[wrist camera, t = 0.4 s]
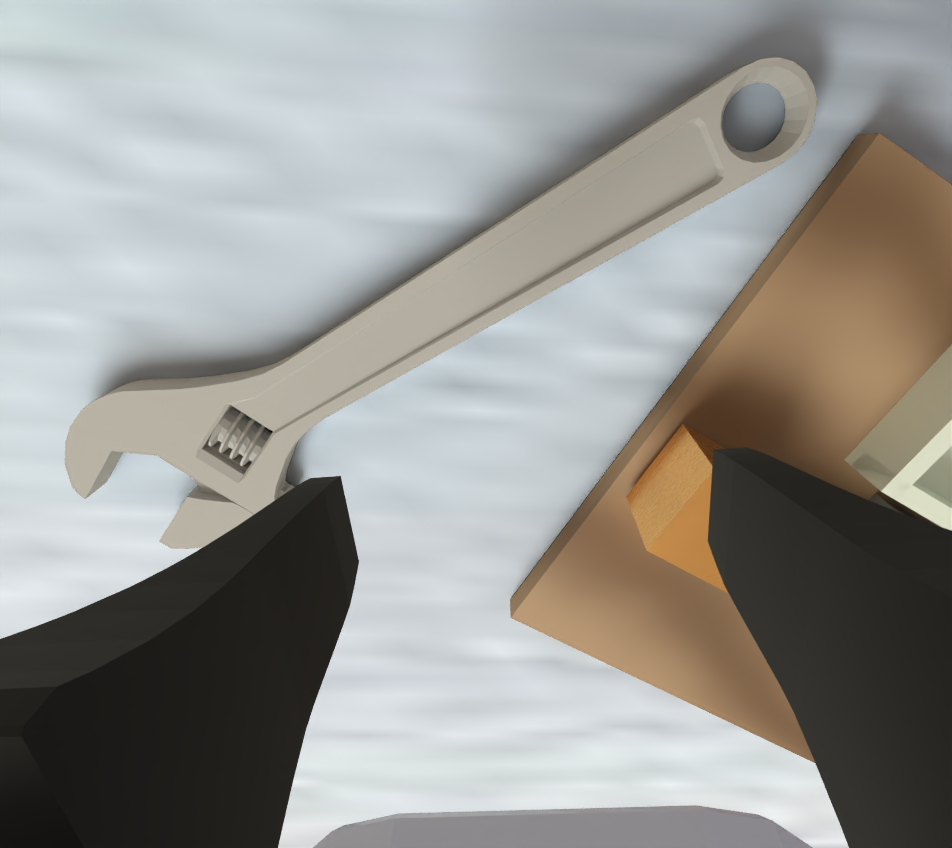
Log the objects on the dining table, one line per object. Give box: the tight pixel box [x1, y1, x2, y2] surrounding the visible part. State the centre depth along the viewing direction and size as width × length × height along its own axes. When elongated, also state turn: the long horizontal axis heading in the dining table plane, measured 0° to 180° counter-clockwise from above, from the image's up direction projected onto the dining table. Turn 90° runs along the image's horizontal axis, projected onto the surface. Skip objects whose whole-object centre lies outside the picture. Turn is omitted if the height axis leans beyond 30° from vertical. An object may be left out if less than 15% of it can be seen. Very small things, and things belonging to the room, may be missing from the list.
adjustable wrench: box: [65, 57, 817, 549], centre depth 19 cm, size 25×6×2 cm, turn 116°
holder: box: [510, 133, 952, 763], centre depth 20 cm, size 18×23×3 cm
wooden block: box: [626, 424, 728, 593], centre depth 18 cm, size 3×10×3 cm, turn 61°
